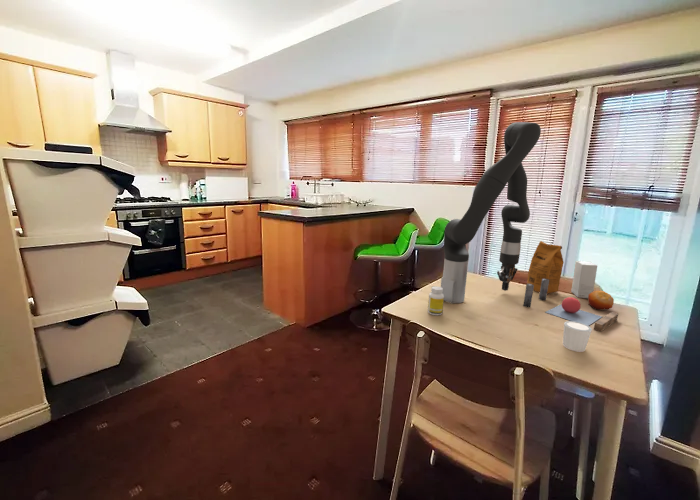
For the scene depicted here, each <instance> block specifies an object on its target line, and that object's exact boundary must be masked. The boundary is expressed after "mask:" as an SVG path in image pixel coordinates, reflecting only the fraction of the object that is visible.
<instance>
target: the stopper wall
mask: <svg viewBox="0 0 700 500" xmlns="http://www.w3.org/2000/svg"><path fill="white" fill-rule="evenodd" d="M618 317H619V314H618V313H616V312H613V311H611V312H609V313H608V314H606V315H604V316H602V318H600V319H599V320H597V321H596V322H594V326H593V331H597V332H602V331H604V330H605V329H607V328H608V327H609V325H610V326H611V325H612V324H614V323H615V322H617V321H618ZM616 320H617V321H616ZM613 322H614V323H613Z"/></svg>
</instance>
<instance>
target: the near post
mask: <svg viewBox="0 0 700 500" xmlns="http://www.w3.org/2000/svg"><path fill="white" fill-rule="evenodd" d="M533 289H534V285H533V284H527V283H526V285H525V293H524V298H523V304H522V306H523V307H525V308H531V306H532V302H533V301H532V300H533V295H534V294H533V293H534V290H533Z"/></svg>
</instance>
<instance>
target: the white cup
mask: <svg viewBox="0 0 700 500" xmlns="http://www.w3.org/2000/svg"><path fill="white" fill-rule="evenodd" d="M592 331H593V329H592V327H591V326H590V325H589V326H587V325H585V324H583V323H579V322H574V321H569V320H566V321H564V323H563V333H562V335H563V336H562V345H563V346H564V348H566V349H568V350H570V351H573V352H576V353H577V352H579V353H583V352H585V351H586V348H587V346H588V343H589V339H590V336H591V333H592Z"/></svg>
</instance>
